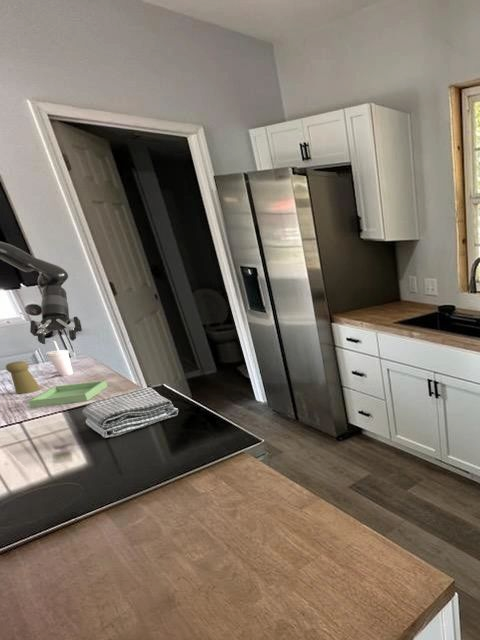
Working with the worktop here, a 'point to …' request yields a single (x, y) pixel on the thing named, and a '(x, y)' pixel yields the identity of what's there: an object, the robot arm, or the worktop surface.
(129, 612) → the worktop surface
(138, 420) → the towel
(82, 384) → the tray
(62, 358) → the smoothie
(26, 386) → the cork
